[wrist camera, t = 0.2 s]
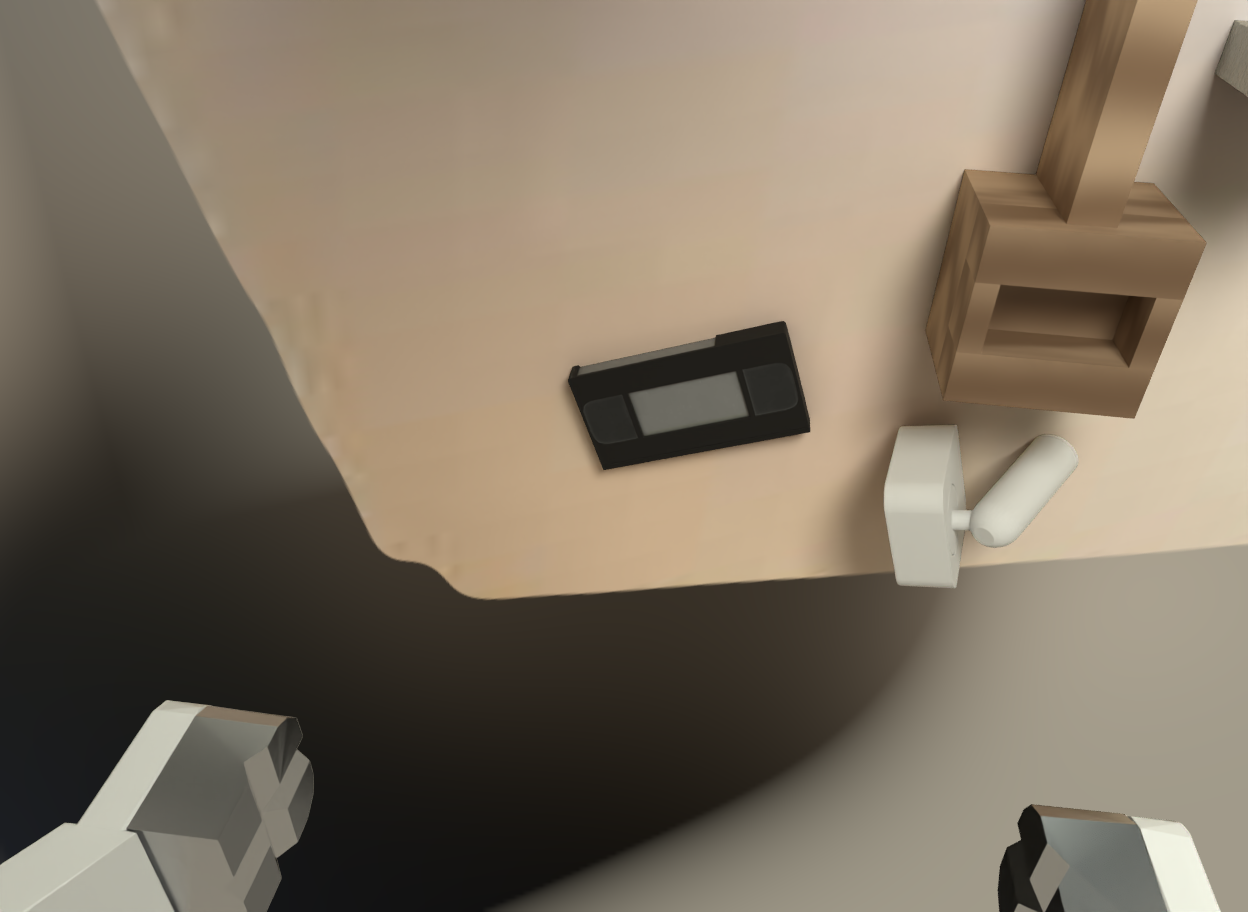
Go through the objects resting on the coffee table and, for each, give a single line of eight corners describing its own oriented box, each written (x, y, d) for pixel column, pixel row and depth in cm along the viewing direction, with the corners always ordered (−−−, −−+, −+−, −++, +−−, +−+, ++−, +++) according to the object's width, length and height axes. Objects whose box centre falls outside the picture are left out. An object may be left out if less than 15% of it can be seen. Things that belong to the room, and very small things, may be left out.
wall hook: (1080, 497, 64) (1078, 604, 56) (919, 496, 68) (898, 595, 61) (1077, 395, 59) (1074, 497, 52) (905, 401, 64) (881, 496, 57)
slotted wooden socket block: (1037, -128, 45) (1080, -110, 38) (1263, -117, 44) (1346, -97, 37) (925, 330, 59) (943, 400, 52) (1094, 345, 58) (1134, 418, 51)
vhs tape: (572, 363, 64) (566, 379, 62) (785, 316, 60) (785, 332, 58) (607, 453, 68) (603, 470, 66) (809, 415, 64) (810, 431, 62)
